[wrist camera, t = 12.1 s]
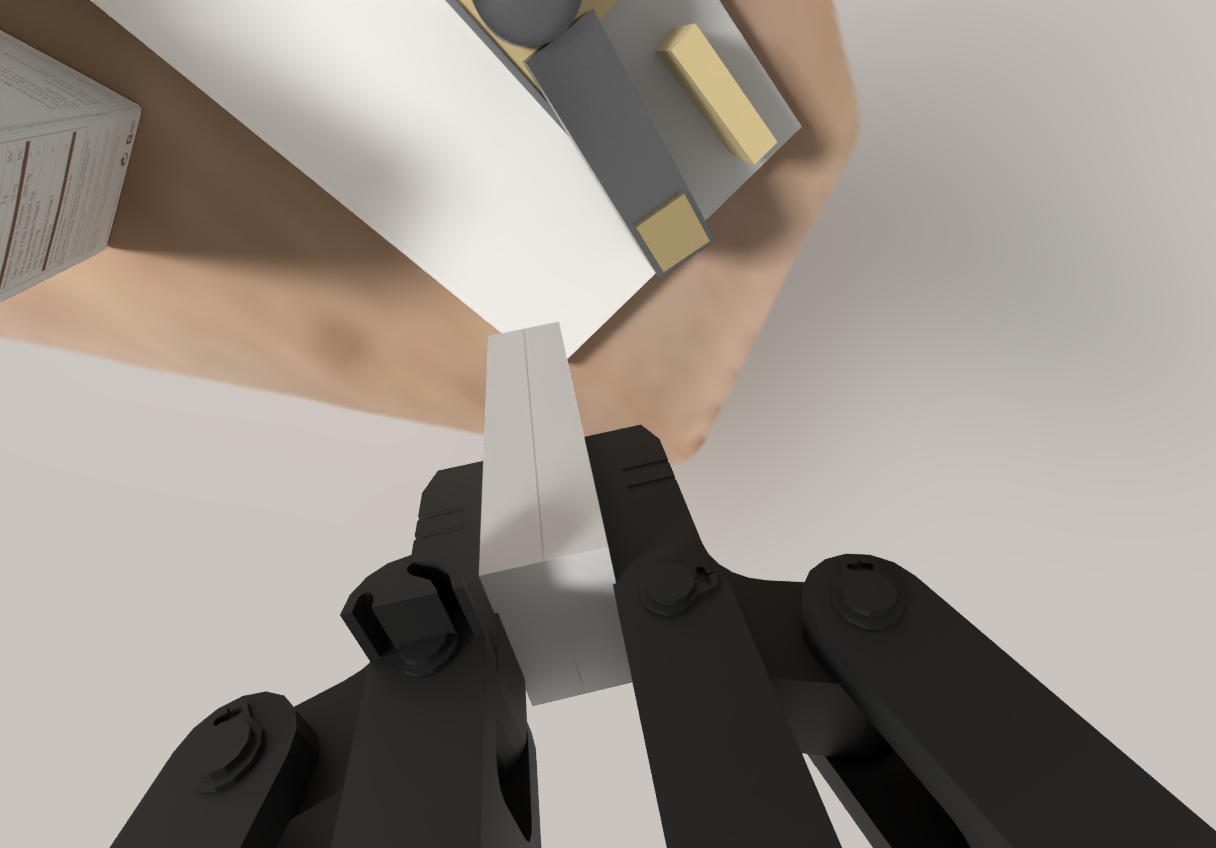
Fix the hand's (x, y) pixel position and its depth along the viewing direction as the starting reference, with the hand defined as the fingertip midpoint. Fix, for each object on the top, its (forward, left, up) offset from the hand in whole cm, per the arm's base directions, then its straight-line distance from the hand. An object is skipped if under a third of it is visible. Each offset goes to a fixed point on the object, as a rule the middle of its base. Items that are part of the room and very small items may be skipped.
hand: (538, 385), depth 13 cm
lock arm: (-5, 0, -18) cm, 19 cm away
